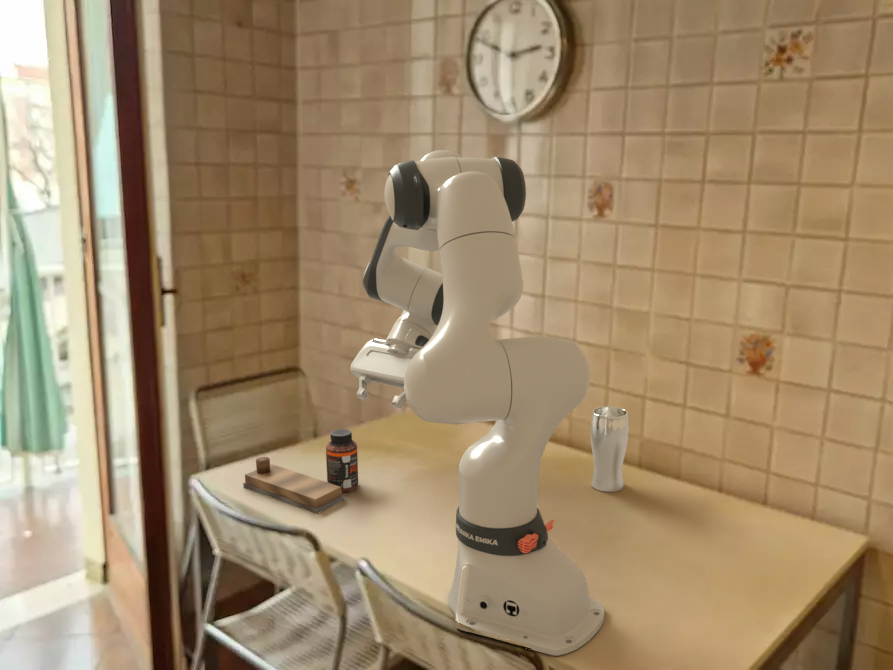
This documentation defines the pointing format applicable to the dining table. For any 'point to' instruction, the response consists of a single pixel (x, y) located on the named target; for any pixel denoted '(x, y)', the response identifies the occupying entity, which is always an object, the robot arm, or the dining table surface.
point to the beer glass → (608, 447)
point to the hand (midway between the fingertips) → (377, 402)
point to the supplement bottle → (342, 460)
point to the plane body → (292, 487)
